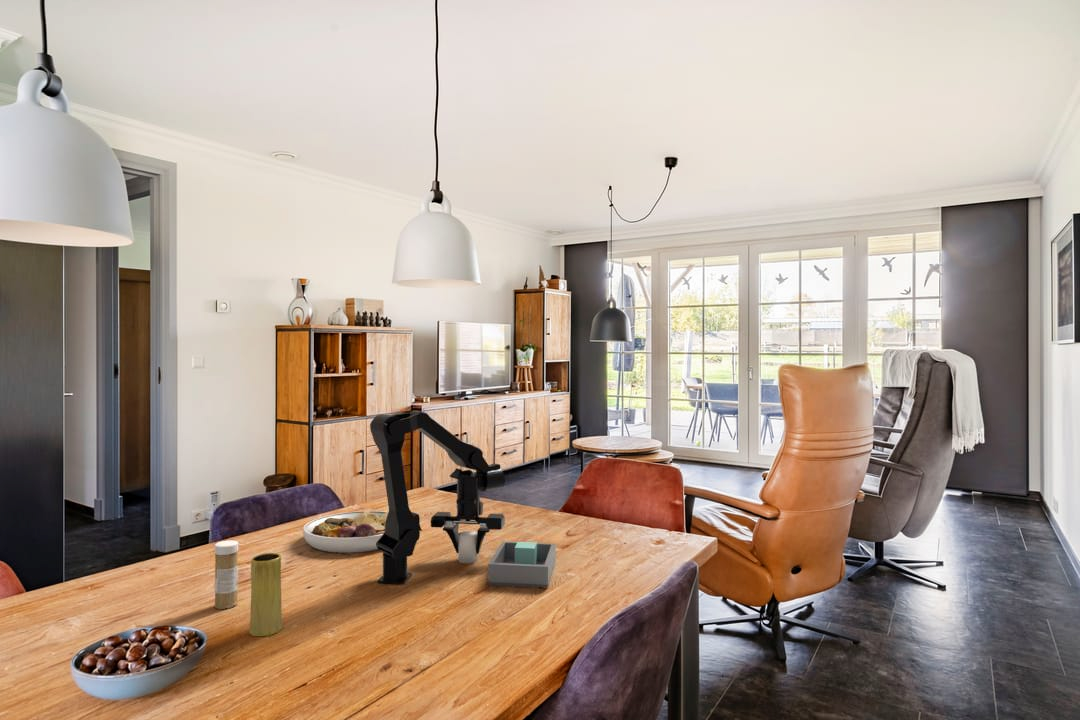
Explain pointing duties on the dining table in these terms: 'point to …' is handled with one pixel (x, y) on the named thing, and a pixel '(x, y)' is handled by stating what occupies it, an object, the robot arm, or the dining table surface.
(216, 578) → the spice jar
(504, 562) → the tote
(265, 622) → the vase
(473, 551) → the white cylinder
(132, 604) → the dining table surface
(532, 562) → the teal cube
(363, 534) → the bowl
